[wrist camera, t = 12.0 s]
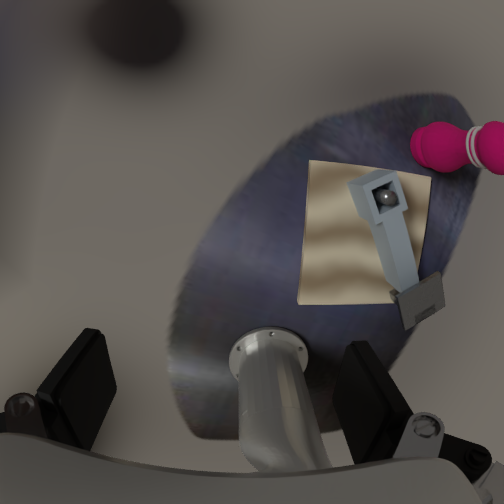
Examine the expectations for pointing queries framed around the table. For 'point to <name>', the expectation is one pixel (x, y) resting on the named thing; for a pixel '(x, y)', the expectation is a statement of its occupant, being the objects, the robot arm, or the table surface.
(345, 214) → the base board
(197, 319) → the table surface
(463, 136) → the pepper mill
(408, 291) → the block
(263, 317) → the table surface
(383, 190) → the post
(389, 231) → the link
